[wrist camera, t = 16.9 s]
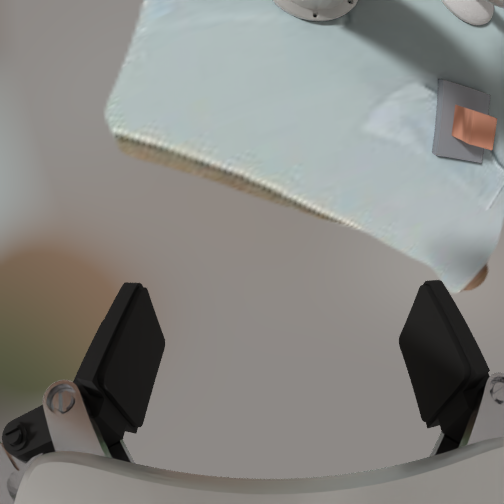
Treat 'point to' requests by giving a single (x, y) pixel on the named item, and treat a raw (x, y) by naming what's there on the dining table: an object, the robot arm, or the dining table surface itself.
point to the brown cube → (474, 127)
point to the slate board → (446, 103)
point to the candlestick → (471, 10)
